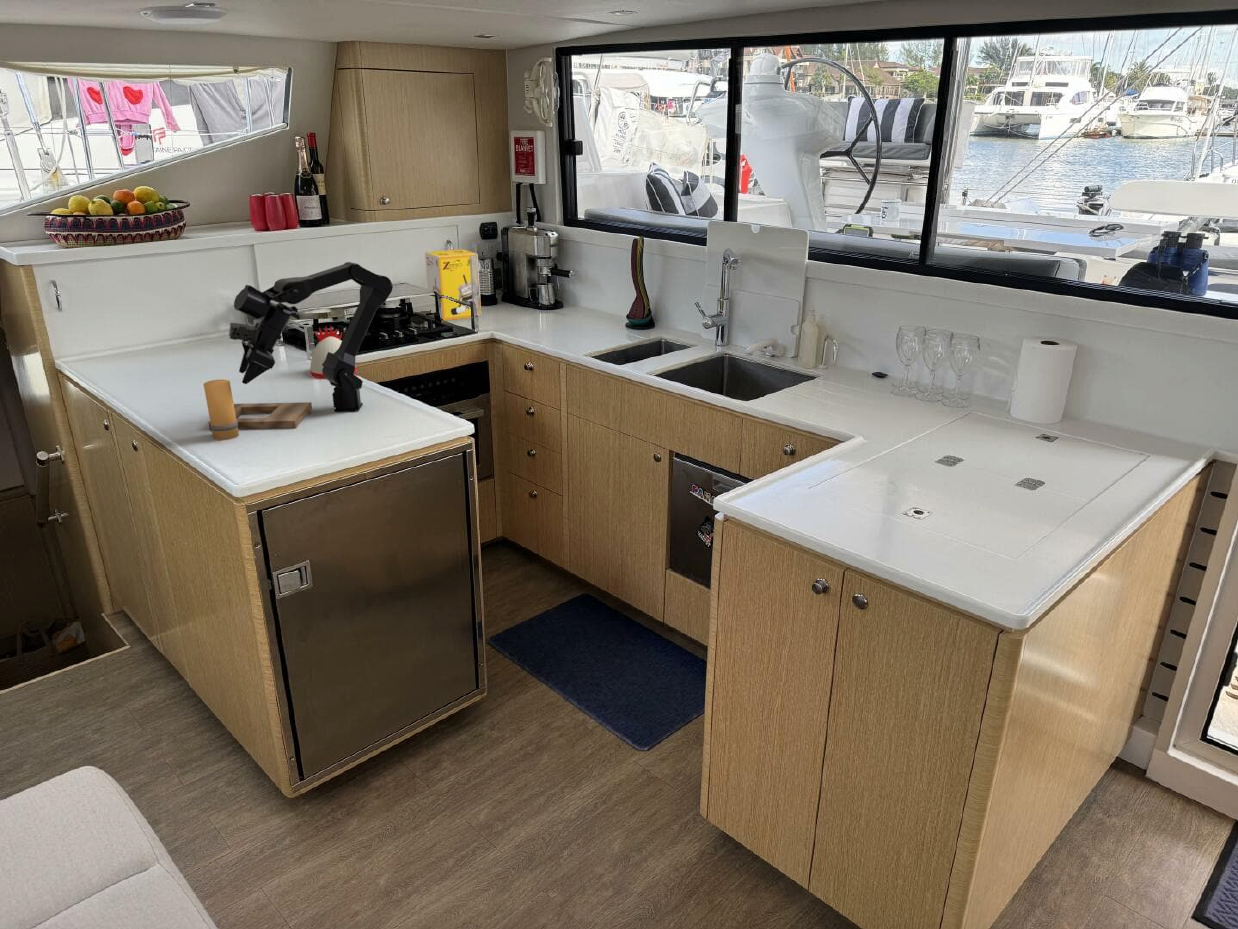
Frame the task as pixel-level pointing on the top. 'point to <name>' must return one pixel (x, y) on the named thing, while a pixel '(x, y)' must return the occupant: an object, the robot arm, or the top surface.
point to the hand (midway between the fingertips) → (242, 377)
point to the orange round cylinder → (221, 409)
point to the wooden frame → (271, 415)
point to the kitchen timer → (324, 351)
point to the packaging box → (454, 281)
